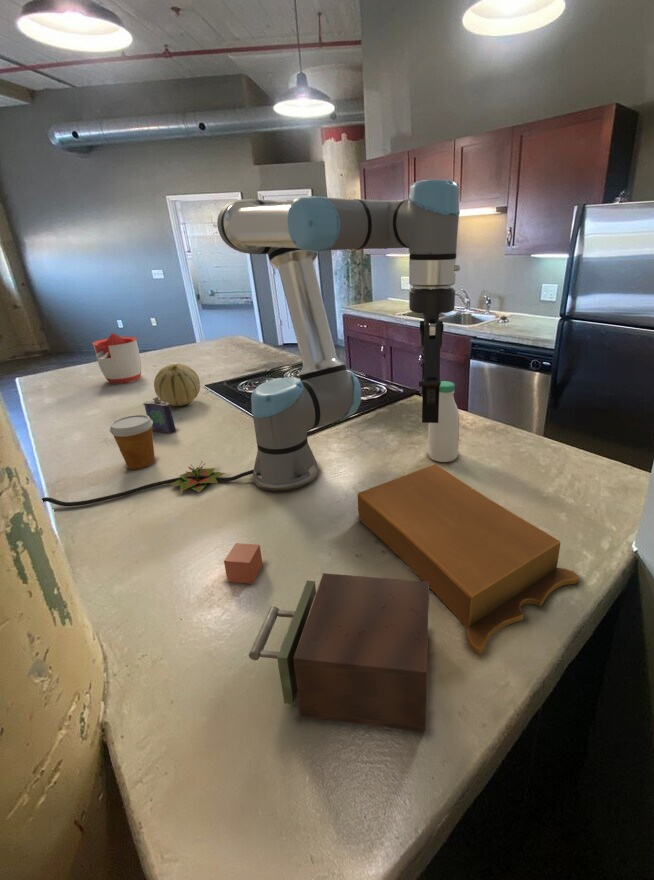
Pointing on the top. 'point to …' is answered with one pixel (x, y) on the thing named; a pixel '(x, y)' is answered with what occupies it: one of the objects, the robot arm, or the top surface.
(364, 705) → the cabinet
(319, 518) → the top surface
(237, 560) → the block
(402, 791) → the top surface
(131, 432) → the disposable coffee cup
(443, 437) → the milk bottle
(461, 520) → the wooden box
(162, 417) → the flask
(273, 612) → the drawer
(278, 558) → the top surface
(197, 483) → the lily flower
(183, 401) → the cantaloupe
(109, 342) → the citrus juicer
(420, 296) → the robot arm
